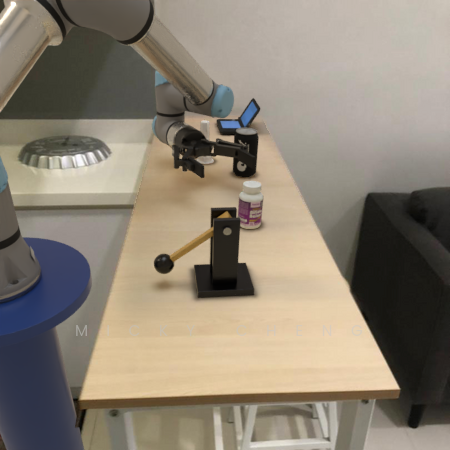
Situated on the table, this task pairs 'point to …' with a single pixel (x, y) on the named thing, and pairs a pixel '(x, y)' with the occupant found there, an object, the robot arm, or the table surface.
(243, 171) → the beverage can
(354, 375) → the table surface
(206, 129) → the candle
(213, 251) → the stand
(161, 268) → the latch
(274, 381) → the table surface
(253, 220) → the pill bottle
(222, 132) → the game console
